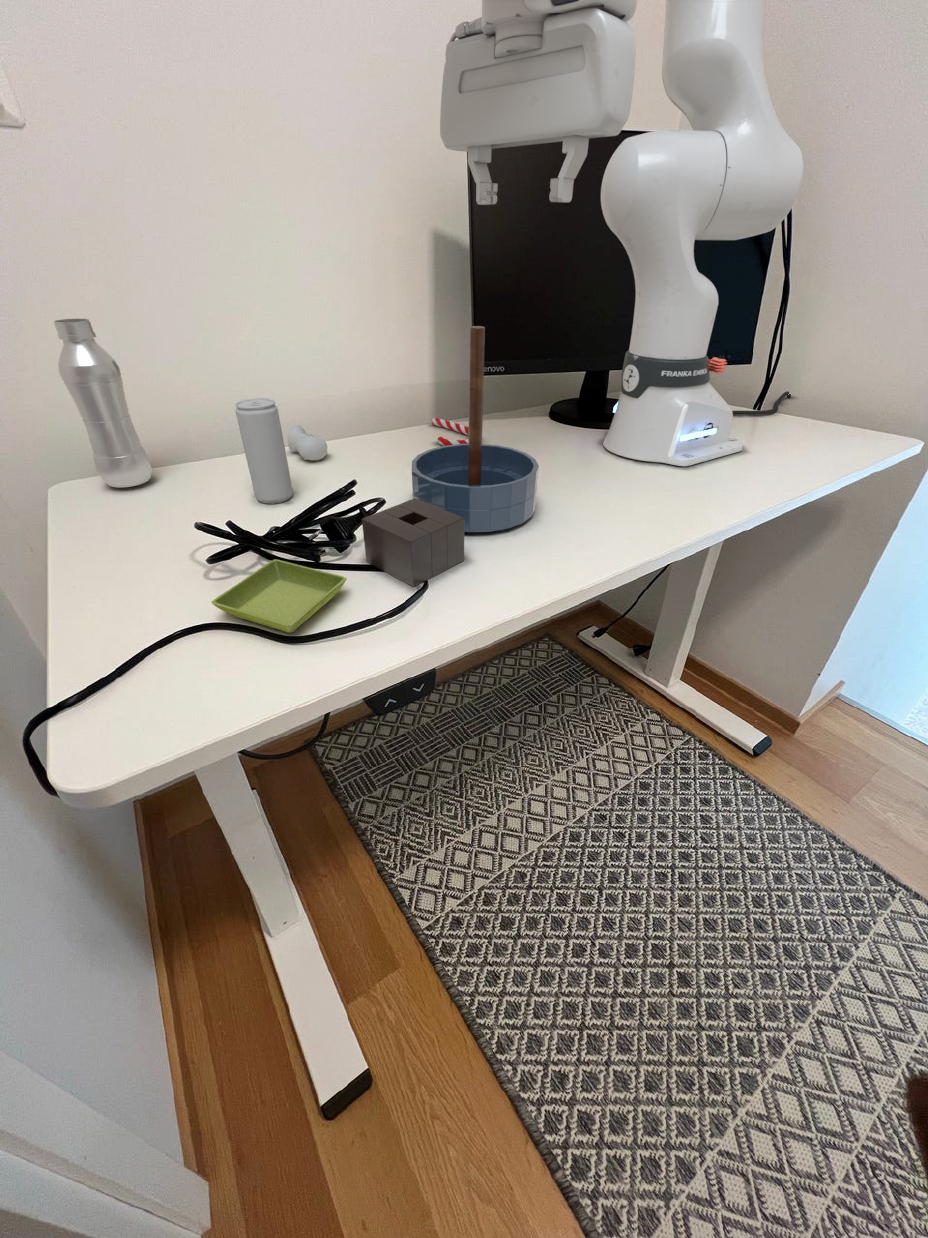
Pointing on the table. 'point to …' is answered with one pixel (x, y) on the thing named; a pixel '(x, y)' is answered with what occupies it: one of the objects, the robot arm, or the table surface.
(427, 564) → the holder
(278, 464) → the beverage can
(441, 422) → the candy cane
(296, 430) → the smooth white sculpture
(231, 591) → the saucer
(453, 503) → the bowl
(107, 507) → the table surface
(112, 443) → the plastic bottle
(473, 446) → the stick
